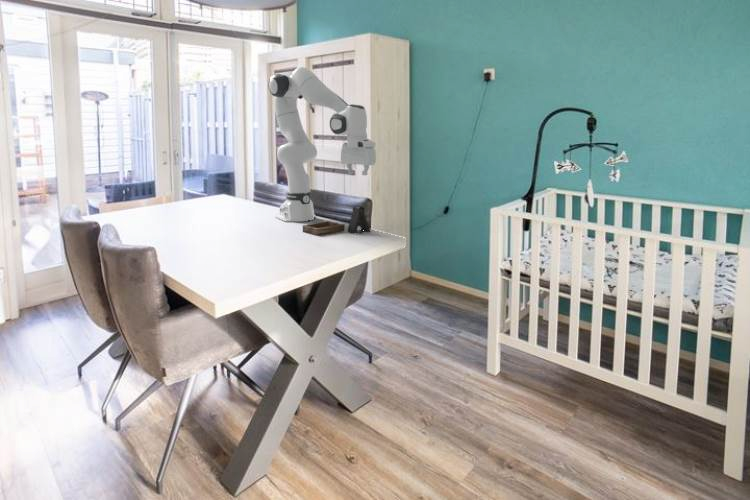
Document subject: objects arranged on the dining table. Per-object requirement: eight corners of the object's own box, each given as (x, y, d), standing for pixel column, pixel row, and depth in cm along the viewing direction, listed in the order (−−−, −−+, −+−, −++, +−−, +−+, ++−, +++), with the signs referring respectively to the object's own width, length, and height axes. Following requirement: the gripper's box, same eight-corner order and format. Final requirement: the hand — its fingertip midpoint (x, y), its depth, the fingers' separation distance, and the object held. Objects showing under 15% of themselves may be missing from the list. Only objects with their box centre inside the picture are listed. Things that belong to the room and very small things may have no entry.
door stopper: (352, 234, 235) (352, 207, 232) (347, 231, 241) (346, 205, 238) (370, 232, 240) (370, 206, 237) (364, 229, 245) (364, 204, 242)
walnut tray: (302, 231, 241) (302, 225, 240) (328, 227, 251) (328, 221, 250) (318, 236, 232) (318, 229, 232) (344, 230, 242) (344, 224, 241)
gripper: (336, 142, 236) (337, 173, 239) (366, 143, 221) (367, 176, 224) (347, 141, 240) (348, 172, 243) (378, 143, 225) (378, 175, 228)
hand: (357, 174), depth 234 cm, fingers open, 8 cm apart
